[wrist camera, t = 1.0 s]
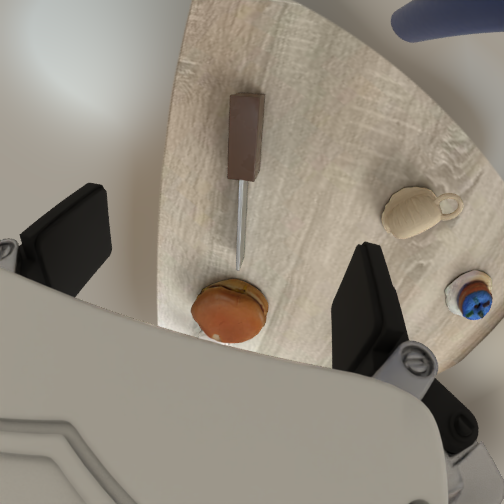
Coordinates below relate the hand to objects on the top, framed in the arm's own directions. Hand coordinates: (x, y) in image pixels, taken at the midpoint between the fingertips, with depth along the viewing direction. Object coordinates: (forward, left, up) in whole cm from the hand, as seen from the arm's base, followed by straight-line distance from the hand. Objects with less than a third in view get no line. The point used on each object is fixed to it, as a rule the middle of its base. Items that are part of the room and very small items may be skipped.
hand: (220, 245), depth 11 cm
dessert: (+16, +28, -21) cm, 38 cm away
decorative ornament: (+6, +15, -21) cm, 26 cm away
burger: (+24, -4, -21) cm, 32 cm away
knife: (+6, -3, -21) cm, 22 cm away
